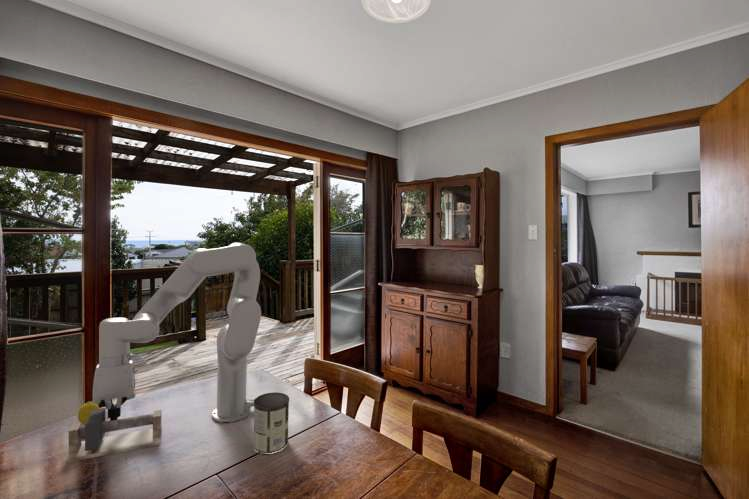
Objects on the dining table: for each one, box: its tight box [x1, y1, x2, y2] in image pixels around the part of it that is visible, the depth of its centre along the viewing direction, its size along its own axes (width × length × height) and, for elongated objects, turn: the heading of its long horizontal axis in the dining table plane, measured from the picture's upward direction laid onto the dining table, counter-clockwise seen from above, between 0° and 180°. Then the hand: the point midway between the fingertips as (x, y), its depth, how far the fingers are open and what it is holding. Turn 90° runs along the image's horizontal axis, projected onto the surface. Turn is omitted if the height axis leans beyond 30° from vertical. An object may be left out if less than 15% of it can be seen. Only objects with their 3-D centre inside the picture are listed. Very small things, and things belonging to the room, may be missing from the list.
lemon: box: [77, 401, 100, 425], centre depth 118 cm, size 6×6×8 cm
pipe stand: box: [65, 409, 163, 463], centre depth 108 cm, size 22×9×8 cm, turn 116°
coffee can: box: [253, 391, 290, 453], centre depth 111 cm, size 10×10×14 cm
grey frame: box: [84, 407, 106, 451], centre depth 106 cm, size 3×9×8 cm, turn 26°
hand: (114, 419), depth 110 cm, fingers closed
